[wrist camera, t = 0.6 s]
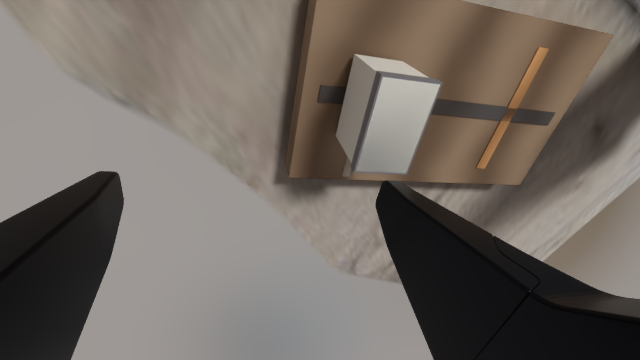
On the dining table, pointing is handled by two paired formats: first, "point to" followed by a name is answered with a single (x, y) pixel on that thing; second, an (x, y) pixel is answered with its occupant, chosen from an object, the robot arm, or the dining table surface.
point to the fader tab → (384, 114)
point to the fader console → (456, 91)
